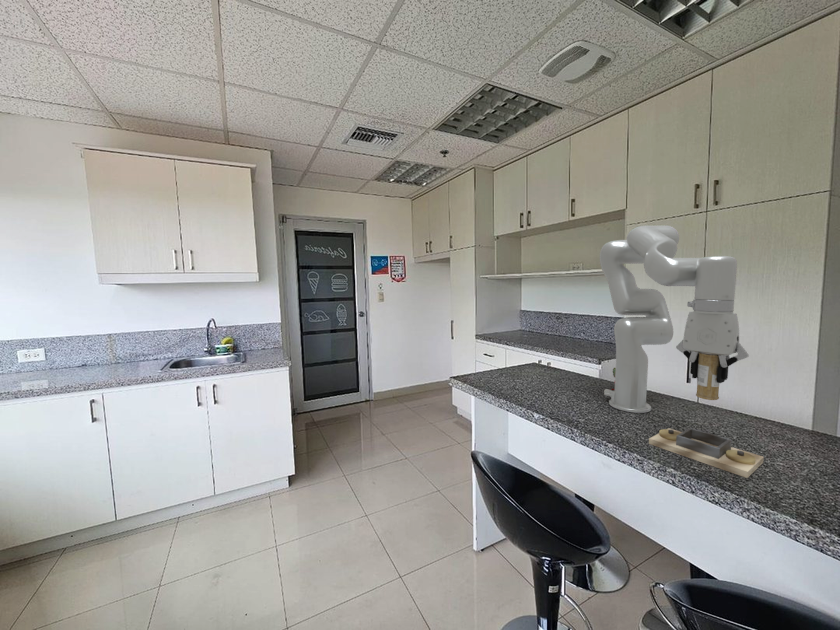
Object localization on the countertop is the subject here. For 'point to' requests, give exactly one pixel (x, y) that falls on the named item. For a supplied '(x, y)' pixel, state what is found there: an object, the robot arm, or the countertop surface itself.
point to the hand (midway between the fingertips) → (708, 379)
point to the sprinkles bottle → (708, 376)
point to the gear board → (708, 450)
